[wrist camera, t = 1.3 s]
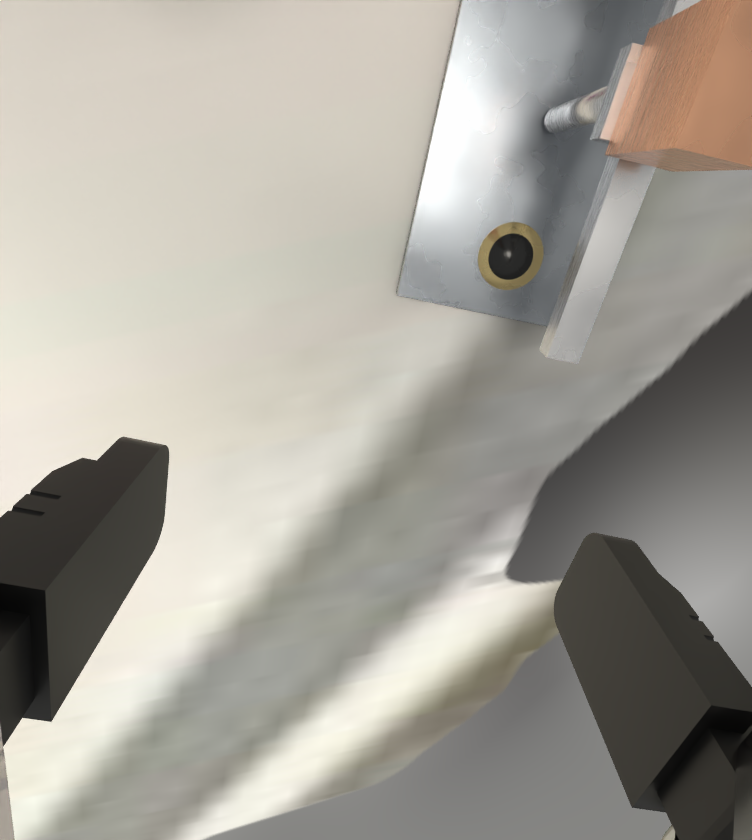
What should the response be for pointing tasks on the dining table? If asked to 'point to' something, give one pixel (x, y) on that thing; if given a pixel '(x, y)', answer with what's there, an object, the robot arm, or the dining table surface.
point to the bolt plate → (527, 168)
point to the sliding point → (677, 94)
